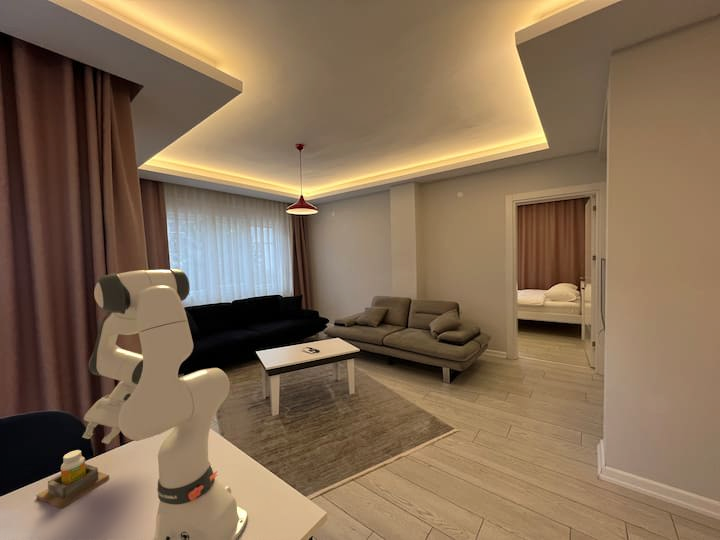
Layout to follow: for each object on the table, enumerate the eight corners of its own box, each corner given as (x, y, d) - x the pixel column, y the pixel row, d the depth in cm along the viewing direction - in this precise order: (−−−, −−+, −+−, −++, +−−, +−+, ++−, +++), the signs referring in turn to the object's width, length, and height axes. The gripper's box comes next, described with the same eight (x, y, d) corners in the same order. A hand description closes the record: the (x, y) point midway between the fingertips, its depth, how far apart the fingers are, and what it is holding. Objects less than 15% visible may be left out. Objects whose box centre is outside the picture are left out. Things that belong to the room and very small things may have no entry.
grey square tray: (109, 478, 96) (108, 466, 96) (61, 508, 84) (60, 495, 84) (85, 470, 100) (84, 458, 99) (36, 498, 88) (35, 485, 88)
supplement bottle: (71, 492, 89) (68, 461, 88) (57, 490, 90) (54, 458, 90) (91, 479, 94) (88, 449, 94) (77, 476, 95) (75, 447, 95)
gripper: (97, 390, 107) (65, 432, 98) (138, 397, 101) (107, 443, 92) (112, 397, 111) (82, 437, 103) (151, 404, 105) (124, 448, 96)
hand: (94, 440), depth 97 cm, fingers open, 8 cm apart
